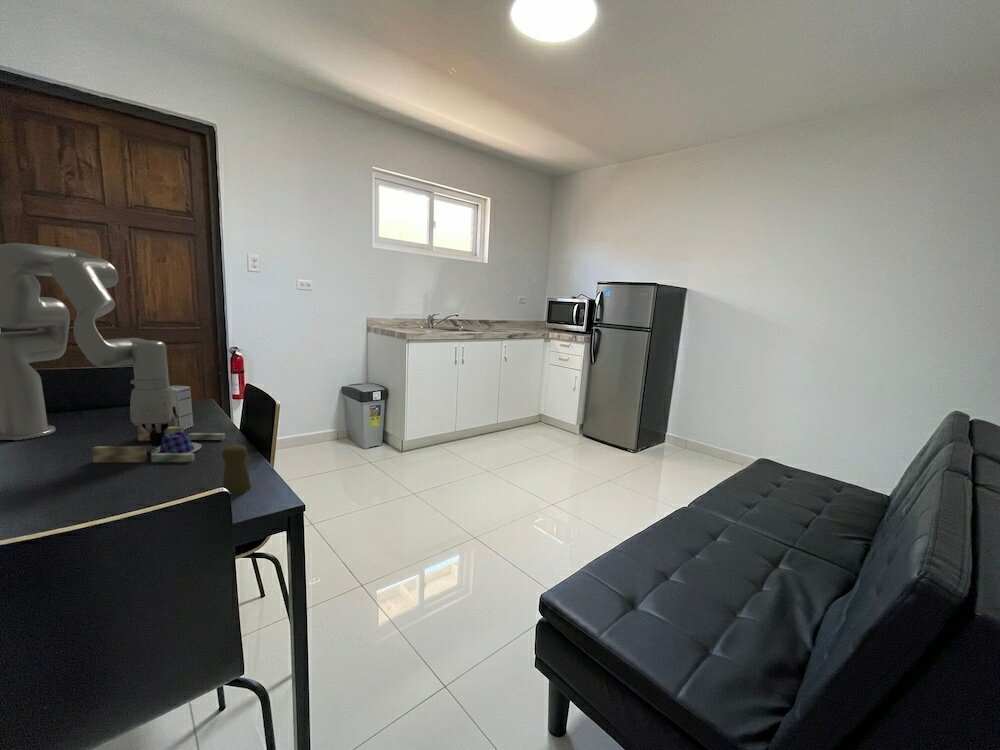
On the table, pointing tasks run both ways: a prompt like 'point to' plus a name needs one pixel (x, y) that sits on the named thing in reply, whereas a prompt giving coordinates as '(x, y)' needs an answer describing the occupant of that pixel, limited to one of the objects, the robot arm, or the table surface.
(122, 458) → the channel
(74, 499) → the table surface
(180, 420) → the syrup box
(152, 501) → the table surface
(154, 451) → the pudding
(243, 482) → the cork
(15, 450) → the table surface
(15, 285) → the robot arm
